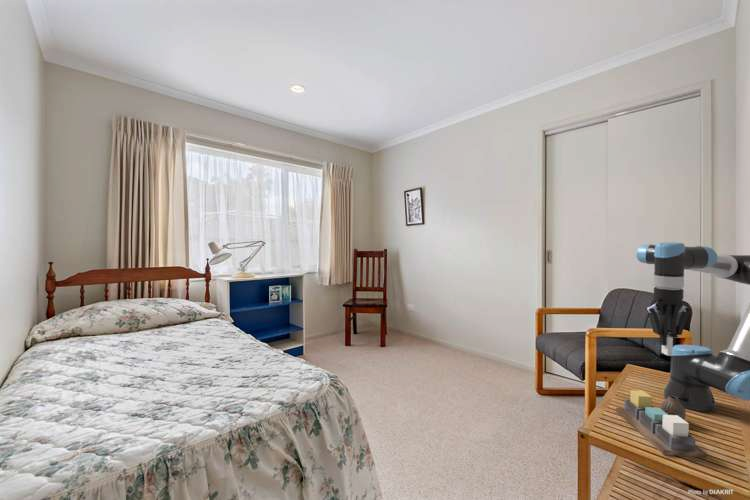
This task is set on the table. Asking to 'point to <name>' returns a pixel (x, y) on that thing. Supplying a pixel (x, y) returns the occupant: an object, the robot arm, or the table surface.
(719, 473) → the table surface
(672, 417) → the plunger cream
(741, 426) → the table surface
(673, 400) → the vase
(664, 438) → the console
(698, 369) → the robot arm
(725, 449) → the table surface
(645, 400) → the plunger ochre
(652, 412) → the plunger teal
